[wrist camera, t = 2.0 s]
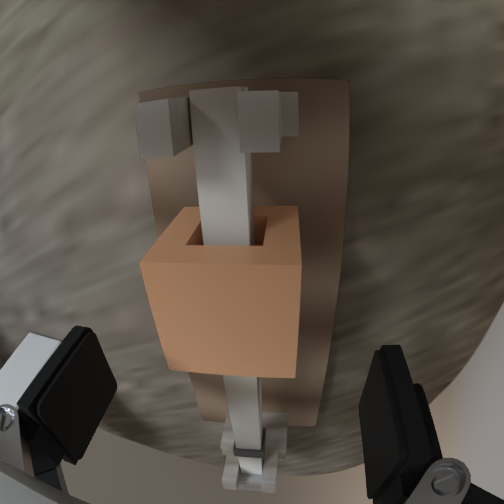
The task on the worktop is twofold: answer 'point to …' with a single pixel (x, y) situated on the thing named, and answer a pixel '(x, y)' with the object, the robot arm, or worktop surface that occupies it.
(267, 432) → the cube slider rail
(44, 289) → the worktop surface
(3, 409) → the robot arm
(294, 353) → the sleeve
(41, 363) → the jar
